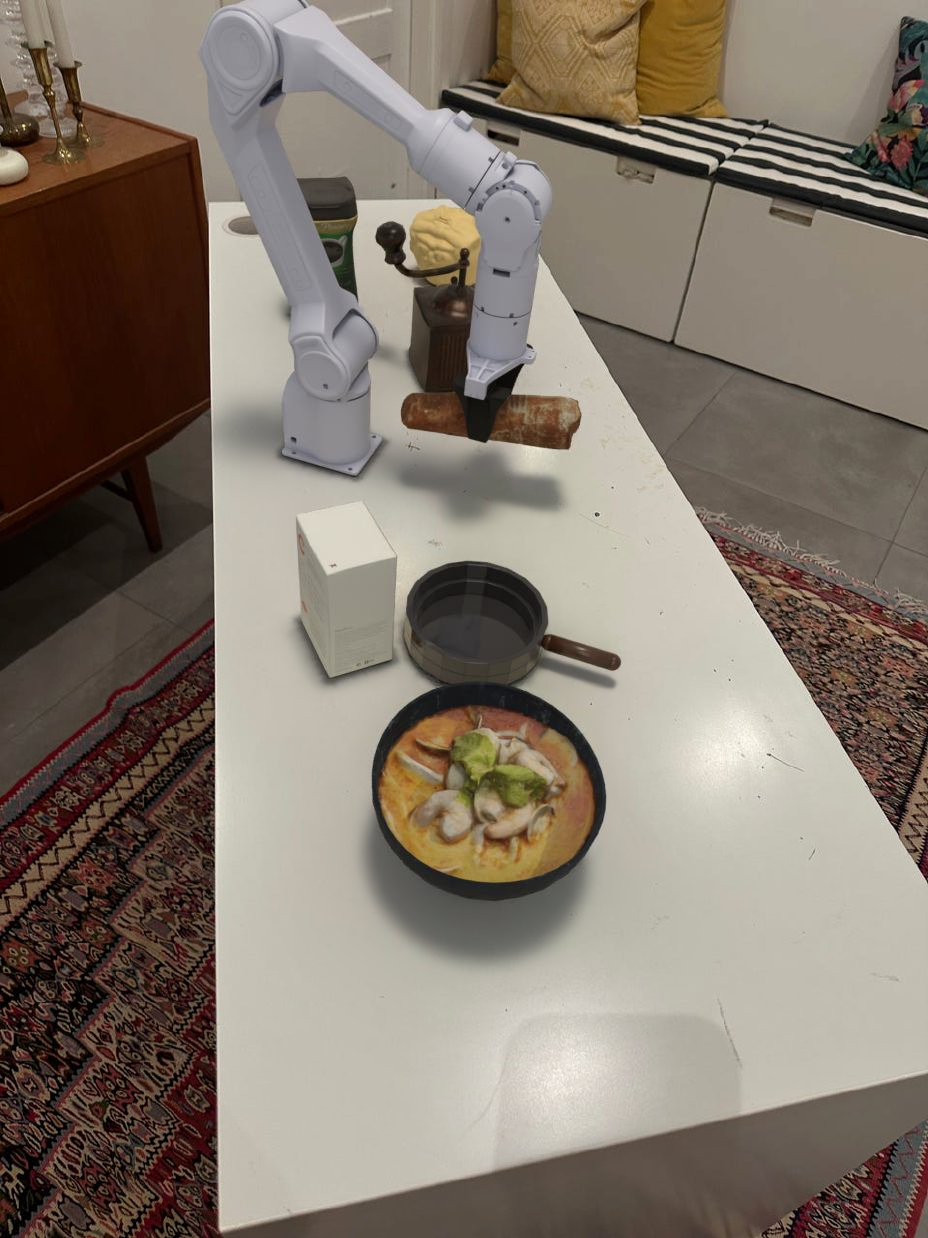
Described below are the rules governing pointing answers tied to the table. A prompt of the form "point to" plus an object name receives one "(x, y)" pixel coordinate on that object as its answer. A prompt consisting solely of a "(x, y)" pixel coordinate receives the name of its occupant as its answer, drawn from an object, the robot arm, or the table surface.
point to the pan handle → (581, 652)
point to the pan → (475, 623)
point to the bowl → (487, 790)
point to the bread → (499, 418)
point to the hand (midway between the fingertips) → (487, 423)
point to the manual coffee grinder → (434, 315)
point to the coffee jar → (334, 223)
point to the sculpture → (445, 242)
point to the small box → (346, 587)
